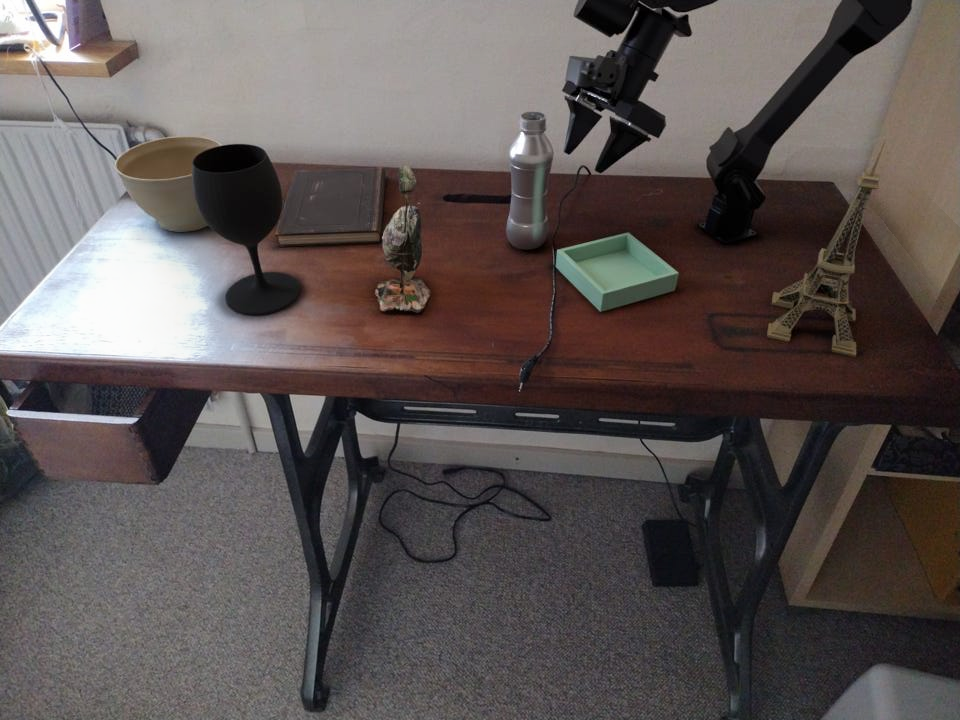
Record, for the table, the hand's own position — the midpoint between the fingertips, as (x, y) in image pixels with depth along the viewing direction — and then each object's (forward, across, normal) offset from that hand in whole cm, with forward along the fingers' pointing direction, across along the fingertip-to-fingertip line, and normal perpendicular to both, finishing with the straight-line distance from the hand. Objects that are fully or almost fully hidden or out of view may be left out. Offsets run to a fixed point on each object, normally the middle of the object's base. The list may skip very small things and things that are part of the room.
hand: (581, 162), depth 96 cm
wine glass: (+35, -6, -33) cm, 49 cm away
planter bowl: (+37, -32, -42) cm, 64 cm away
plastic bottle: (+15, -4, +1) cm, 16 cm away
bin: (+12, +9, +8) cm, 17 cm away
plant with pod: (+26, +2, -17) cm, 32 cm away
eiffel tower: (+4, +28, +26) cm, 38 cm away
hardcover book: (+26, -26, -22) cm, 43 cm away
